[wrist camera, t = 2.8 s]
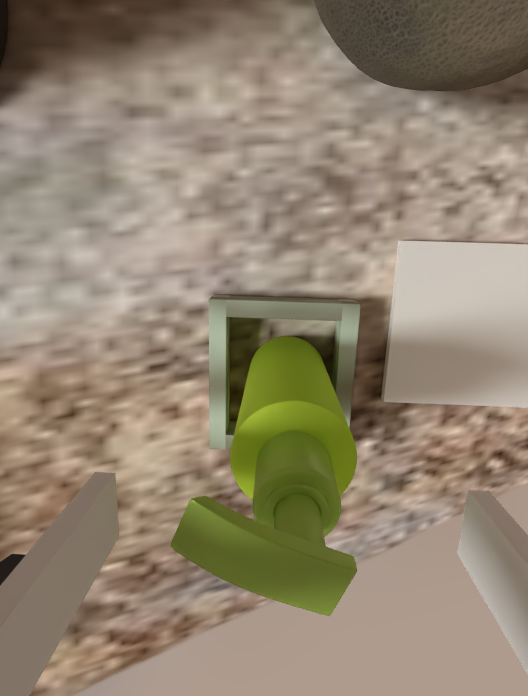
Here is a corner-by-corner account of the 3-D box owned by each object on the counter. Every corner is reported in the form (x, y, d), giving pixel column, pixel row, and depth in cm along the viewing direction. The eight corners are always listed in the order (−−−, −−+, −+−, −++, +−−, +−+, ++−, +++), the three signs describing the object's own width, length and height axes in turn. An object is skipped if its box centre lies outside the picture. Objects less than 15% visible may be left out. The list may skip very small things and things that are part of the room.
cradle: (214, 294, 30) (208, 299, 27) (353, 299, 29) (360, 304, 27) (214, 433, 32) (209, 448, 30) (341, 439, 32) (346, 454, 30)
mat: (398, 240, 28) (401, 240, 27) (569, 245, 28) (577, 245, 27) (381, 397, 31) (383, 401, 30) (535, 404, 31) (541, 408, 30)
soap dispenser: (254, 318, 30) (213, 450, 11) (337, 354, 30) (442, 542, 11) (226, 385, 31) (142, 609, 12) (305, 418, 32) (348, 685, 12)
